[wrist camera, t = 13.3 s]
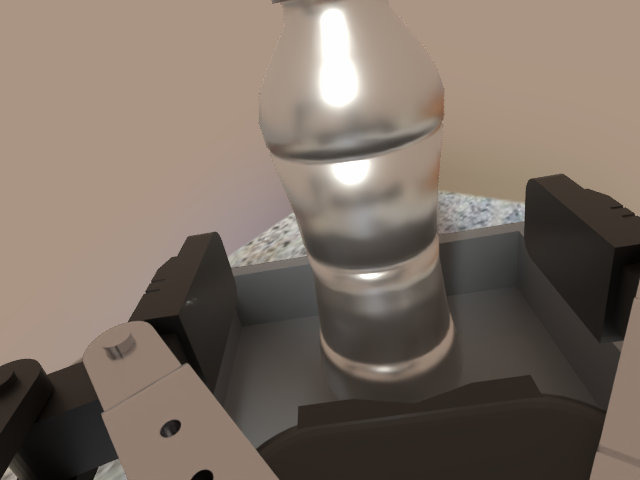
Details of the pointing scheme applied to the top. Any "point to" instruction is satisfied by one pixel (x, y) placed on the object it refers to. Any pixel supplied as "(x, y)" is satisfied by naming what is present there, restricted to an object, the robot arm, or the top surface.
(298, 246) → the top surface
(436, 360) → the silver bottle
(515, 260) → the bin
